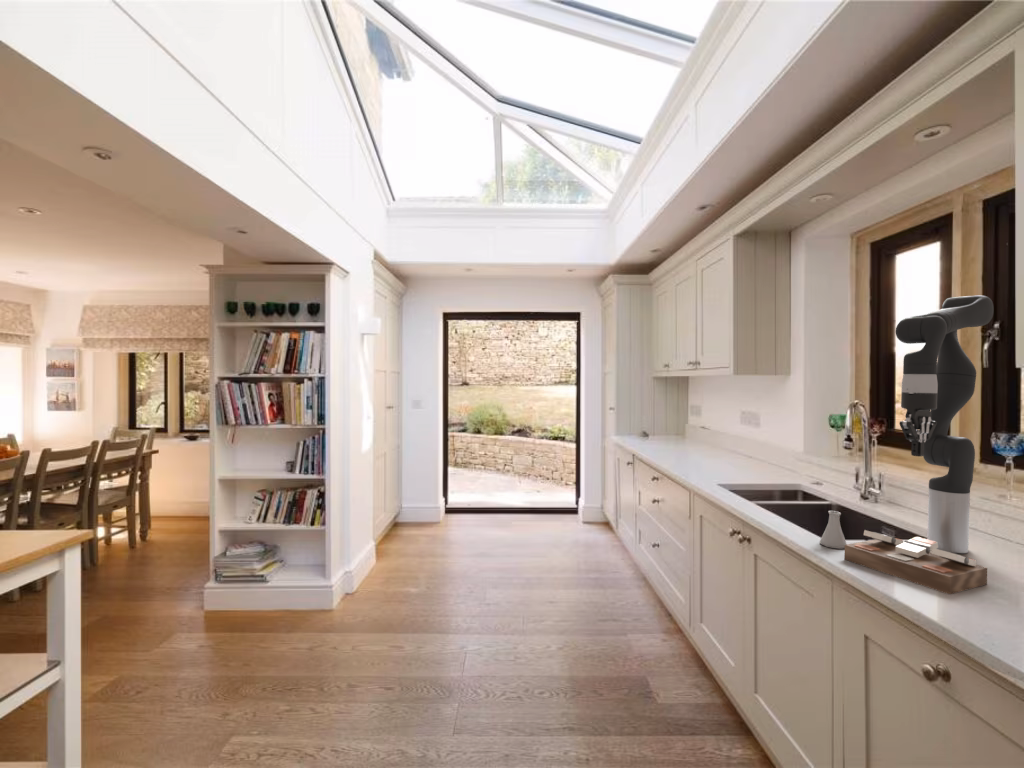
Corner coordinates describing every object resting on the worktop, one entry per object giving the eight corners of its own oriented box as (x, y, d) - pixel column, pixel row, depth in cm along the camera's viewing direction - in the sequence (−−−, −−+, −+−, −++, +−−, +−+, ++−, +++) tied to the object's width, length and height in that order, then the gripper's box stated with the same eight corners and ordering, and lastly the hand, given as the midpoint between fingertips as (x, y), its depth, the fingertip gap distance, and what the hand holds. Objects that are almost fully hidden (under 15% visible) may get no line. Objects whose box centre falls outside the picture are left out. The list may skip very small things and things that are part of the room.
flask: (852, 550, 145) (853, 516, 145) (825, 548, 147) (826, 514, 147) (841, 542, 153) (842, 509, 152) (815, 540, 154) (816, 508, 154)
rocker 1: (882, 540, 142) (883, 534, 142) (902, 546, 137) (904, 540, 138) (862, 535, 139) (864, 529, 139) (883, 541, 134) (884, 534, 134)
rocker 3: (950, 560, 128) (951, 553, 128) (975, 567, 123) (977, 560, 123) (930, 554, 124) (932, 546, 124) (956, 561, 119) (957, 553, 119)
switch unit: (880, 552, 144) (881, 537, 144) (986, 584, 122) (987, 566, 122) (844, 559, 138) (844, 543, 138) (949, 594, 116) (950, 575, 116)
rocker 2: (915, 542, 135) (915, 535, 135) (938, 548, 130) (938, 541, 130) (895, 552, 131) (894, 545, 131) (918, 558, 127) (917, 551, 127)
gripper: (917, 391, 141) (916, 453, 141) (888, 390, 136) (887, 455, 136) (949, 392, 134) (948, 457, 135) (920, 391, 129) (918, 459, 129)
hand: (917, 455), depth 135 cm, fingers closed
